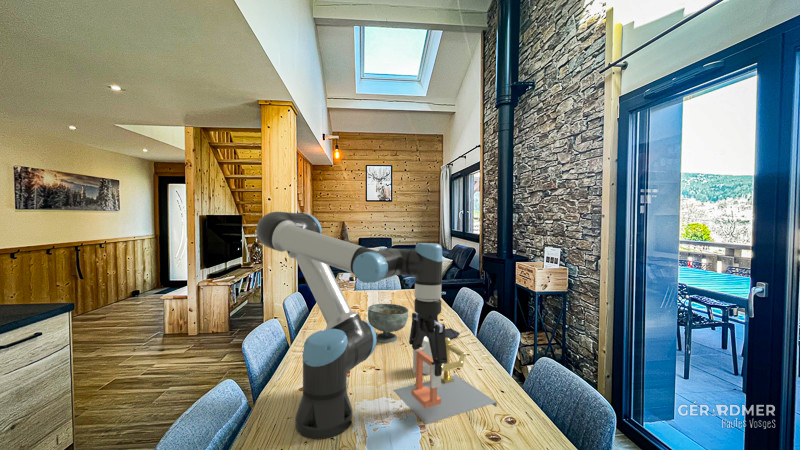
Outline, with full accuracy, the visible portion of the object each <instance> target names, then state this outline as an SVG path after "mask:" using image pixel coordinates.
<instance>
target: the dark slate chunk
mask: <svg viewBox="0 0 800 450" xmlns="http://www.w3.org/2000/svg"><path fill="white" fill-rule="evenodd" d="M433 333H435V331H434V332H433ZM433 333H430V334H433ZM425 336H426V334H425ZM459 336H460V332H459V331H457V330H455V329H453V328H451V327H450V328H445V338H449V339H450V340H451V341H452V340H453V338H454V339H455V338H457V337H459Z"/></svg>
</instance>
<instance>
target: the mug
mask: <svg viewBox="0 0 800 450" xmlns="http://www.w3.org/2000/svg"><path fill="white" fill-rule="evenodd" d="M422 346H423V347H421V348H422V349H423V352H424V353H426V354H427V355H428V356H430V357H431V358H432V353H431V348H430V344H429V339H428V338H427V337H426V336H425V337H424V339H423V342H422ZM442 365H444V364H442ZM442 373H444V371H442ZM423 375H426V376H430V365H428V364H427V363H426V362H424V361H423Z"/></svg>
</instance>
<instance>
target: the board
mask: <svg viewBox="0 0 800 450" xmlns="http://www.w3.org/2000/svg"><path fill="white" fill-rule="evenodd" d="M450 376H451V377H453V378H454V382H450V383H446V384H445V383H444V382H442V381H441V386H440V387H437V396H438V397H440V398H441V404H439V405H435V406H432V407H428V408H425V407H424V406H422V405H421V404H420V403H419V402H418V401H417V400H416V399H415V398H414V397H413V396H412V395H411V392H412V390H413V389H417V388H416V384H412V385H408V386H404V387H400V388H397V389H393V392H394V393H395V394H396V395H397V396H398V397H399V399H401V400H402V401H403V402H404V403H405V404H406V405H407V406H408V407H409V409H410V410H412V411H413V413H414V414H415V415H416V416H417V417H418V418H419V419H420V420H421V421H422V423H424V425H429V424H432V423H435V422H439V421H442V420H445V419H448V418H450V417H451V418H452V417H454V416H457V415H461V414H464V413H467V412H471V411H473V410H477V409H479V408H483V407H486V406H489V405H492V406H494V407H498V406H497V405H498V402H497V401H495V400H494V399H493V398H491V397H490V396H488V395H486V394H485V393H484V392H482V391H481V390H479V389H478V388H476V387H475V386H473V385H472V384H470V383H469V382H467V381H466V380H465V379H463V378H462V377H460V376H458V375H457V374H453V375H450ZM425 386H427V387H428V388H429V389H430V380H429V381H424V382H423V384H422V387H425Z"/></svg>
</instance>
